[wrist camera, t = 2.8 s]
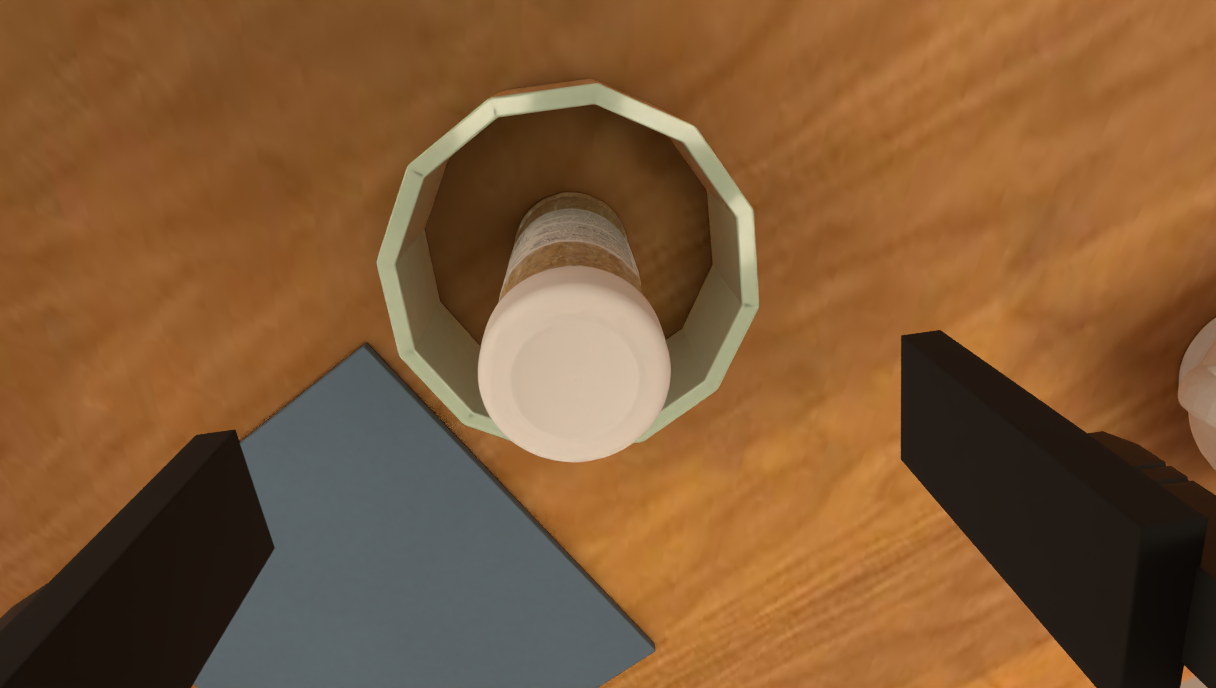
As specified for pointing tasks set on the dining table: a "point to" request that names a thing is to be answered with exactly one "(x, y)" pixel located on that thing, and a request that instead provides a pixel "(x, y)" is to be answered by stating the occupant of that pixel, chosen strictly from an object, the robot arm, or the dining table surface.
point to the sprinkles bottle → (573, 337)
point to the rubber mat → (404, 559)
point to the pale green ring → (453, 354)
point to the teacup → (1201, 390)
